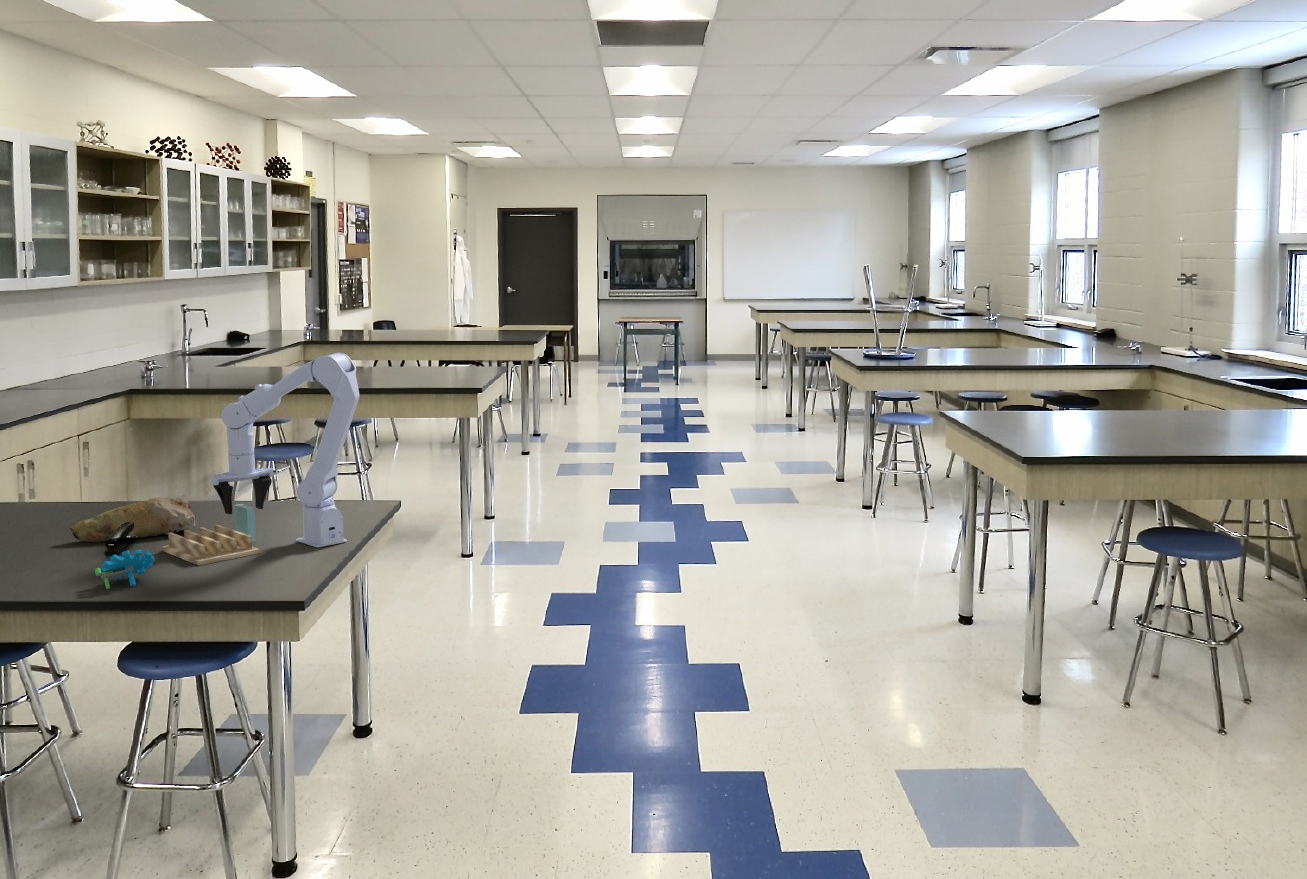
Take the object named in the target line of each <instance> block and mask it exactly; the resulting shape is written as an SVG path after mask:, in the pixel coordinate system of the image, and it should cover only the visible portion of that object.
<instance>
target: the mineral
mask: <svg viewBox="0 0 1307 879" xmlns="http://www.w3.org/2000/svg"><path fill="white" fill-rule="evenodd" d="M195 518H196V516H195V514H194V513H193V510H192V507H191V505H190V502H189V500H188V497H187V496H186V495H184V494H182V495H181V496H173V497H170V496H168V497H152V498H149V499H147V500H145V501H138V502H133V503H130V504H129V503H128V504H126V505H124V506H118V507H115V508H113V509H110V510H107V511H104V512H102V513H100V514H98V515H96V516H95V517H92V518H91V517H90V518H89V519H81V520H79V521H78V522H77V523H73V524H72V525H70V526H69V530H70V531H71V533H72V536H73V537H74V539H76V540H78V541H80V542H89V543H98V542H97V541H103V542H107V541H106V540H108V538H109V536H110V535H111V534H112V533H114V532H115V530H116V529H117V528H118V527H121V525H122V524H124V523H126V522H134V531H133V533H134V535H136V536H138V537H140V538H141V539H142V538H147V537H157V536H160V535H163V534H164V535H168V533H174V532H177V533H178V532H179V531H184V530H190V529H191V528H194V529H197V524H196V519H195ZM140 538H139V539H140ZM108 541H109V540H108Z"/></svg>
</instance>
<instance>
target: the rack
mask: <svg viewBox="0 0 1307 879" xmlns="http://www.w3.org/2000/svg"><path fill="white" fill-rule="evenodd" d="M198 529H199V533H197V532H194V531H192V530H190V529H185V530H183V536H181V535H179V534H177V533H174V532H173V533H168V534H167V535H168V538H167V539H168V544H167V545H164V546H161V551H162V552H165V553H166V554H169V555H172V556H174V557H176V558H179V559H182V560H184V561H187V562H188V563H191V564H194V565H196V566H204V565H209V564H214V563H218V562H224V561H230V560H234V559H239V558H243V557H244V558H245V557H249V556H253V555H258V554H260V553H261V551H260V550H261V549H260V548H258V547H255V546H253V542H252V536H250V535H247V534H244V533H241V532H238V531H236V529H232V528H229V527H226V526H223V525H220V524H214V530H212V529H209V528H206V527H203V526H202V527H201V526H200V527H199V528H198Z"/></svg>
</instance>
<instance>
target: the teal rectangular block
mask: <svg viewBox="0 0 1307 879" xmlns="http://www.w3.org/2000/svg"><path fill="white" fill-rule="evenodd" d="M255 513H256V512H255V507H254V506H253V507H252V506H251V505H250V506H249V505H246V504H243V503H239V504H234V521H235V531H238V532H241V533H244V534H247V535H250V536H252V543H254V542H257V533H256V532H257V531H256V514H255Z"/></svg>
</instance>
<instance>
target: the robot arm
mask: <svg viewBox="0 0 1307 879" xmlns="http://www.w3.org/2000/svg"><path fill="white" fill-rule="evenodd" d="M308 382H313V383H314V382H318V383H320V384H321V385H322V386H323V387H324V388H325V389H326V390H328V393H330V395H331V397H332V398H333V403H332V406H331V408H330V412H329V415H328V418H327V421H326V424H325V426H324V430H323V433H322V436H321V439H320V443H319V445H318V449H317V451H316V454H315V457H314V461H313V463H312V465H311V466H310V468H309V469H308V470H307V472H306V475H305V477H304V479H302V480H301V482H300V483H299V484H298V486H297V490H296V492H297V493H296V495H297V498H298V499H299V501H300V502H301V505H302V506H301V509H302V510H301V512H302V530H303V531H302V532H303V537H300V538H296V539H295V541H296V542H299V543H302V544H305V545H308V546H311V547H314V548H323V547H327V546H332V545H337V544H342V543H347V542H348V539H346V538H344V516H343V514H342V512H341V511H340V510H339V509H338V508H337V507H336V505H335V498H334V495H335V494H336V492H337V491H338V481H337V480H338V479H337V478H338V475H339V470H338V468H337V466H338V463H339V460H340V457H341V455H342V452H343V448H344V445H345V442H346V438H347V436H348V433H349V431H350V426H351V424H352V421H353V418H354V415H355V412H356V409H357V406H358V402H359V400H360V390H359V386H358V380H357V367H356V365H355V364H354V362H353V360H352V359H351V357H349V356H348V355H347V354H346V353H342V352H335V353H332V354H328V355H320V356H318V357H317V358H316V359H313V360H311V361H308V362H306V363H304V364H302V365H300V366H299V367H298V368H296V369H295V370H293V371H291V373H289V374H287V375H286V376H285V377H283V378H282V379H280V380H278V381H277V382H276V383H275V384H274V383H273V384H270V383H269V384H268V383H264V384H262V383H260V384H257V385H255V386H254V387H253V388H254V390H253V391H251V392H249V393H248V394H246V395H241V396H239V397H237V399H238V401H237V402H230V403H227V405H226V406H224V408H223V409H222V410H221V420H222V422H223V424H224V425H225V426H226V436H227V437H226V438H227V454H228V472H227V471H226V472H224V473H218V474H213V475H210V478H209V480H210V485H213V486H212V487H213V489H214V490H215V492H216V493H217V495H218V497H219V499H220V501H221V504H222V506H223V510H224V513H225V514H226V515H232V514H233V491H234V486H233V485H231V484H230V483H235V482H240V481H241V482H243V481H248V480H252V484H253V488H254V503H255V508H256V509H258V510H263V509H264V505H265V500H266V497H267V494H268V491H269V490H270V489H269V488H270V487H271V485H272V482H273V479H272V478H274V468H271V467H264V468H256V461H255V438H254V436H255V435H254V423H255V422H256V421H257V419H259V418H260V417H262V416H263V415H265V414H267V413H268V412H270V411H272V410H273V409H275V408H276V407H279V405H280V404H281V400H282V397H283V396H286V395H287V394H288V393H290V392H292V391H293V390H295V389H297V388H299V387H300V386H302V385H305V384H306V383H308Z"/></svg>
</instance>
